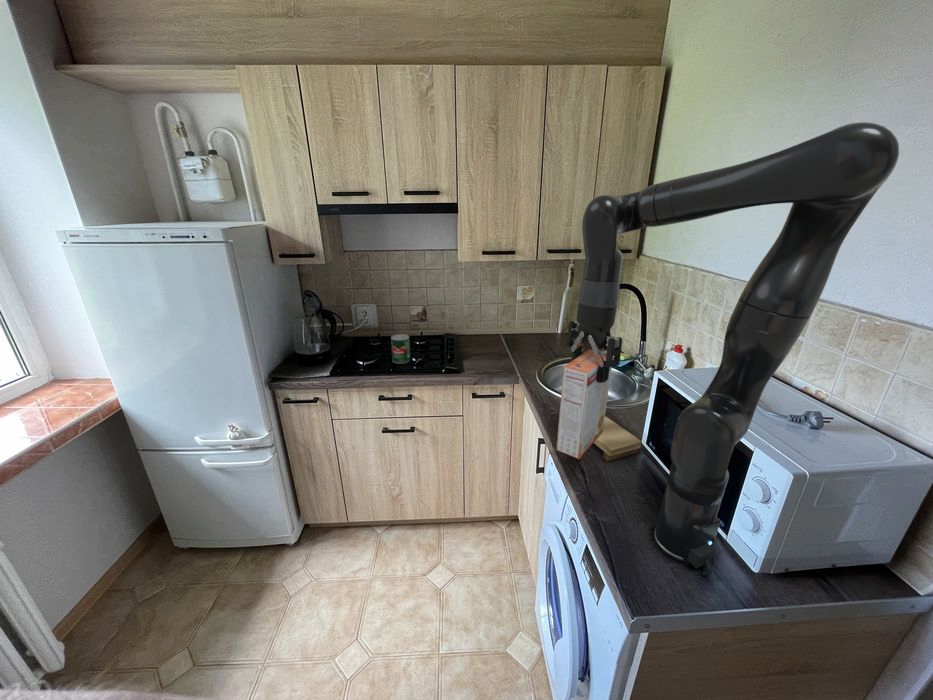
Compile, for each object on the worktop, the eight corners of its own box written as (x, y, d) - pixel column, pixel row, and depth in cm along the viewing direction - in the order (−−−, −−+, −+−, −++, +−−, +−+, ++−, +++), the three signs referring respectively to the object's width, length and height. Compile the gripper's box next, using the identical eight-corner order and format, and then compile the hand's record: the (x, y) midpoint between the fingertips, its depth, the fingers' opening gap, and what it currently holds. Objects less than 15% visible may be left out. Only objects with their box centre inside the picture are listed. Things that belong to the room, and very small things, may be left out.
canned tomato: (393, 364, 165) (392, 340, 161) (391, 358, 172) (389, 334, 168) (411, 362, 167) (410, 338, 163) (408, 356, 174) (407, 333, 170)
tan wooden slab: (639, 453, 107) (642, 441, 106) (609, 462, 103) (611, 450, 102) (598, 423, 122) (600, 412, 121) (570, 430, 118) (571, 419, 117)
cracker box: (579, 424, 96) (590, 347, 89) (603, 433, 92) (616, 353, 85) (553, 450, 86) (562, 364, 78) (578, 461, 82) (590, 372, 75)
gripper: (561, 295, 82) (554, 364, 88) (608, 311, 70) (596, 391, 76) (589, 292, 85) (581, 360, 91) (639, 307, 73) (625, 384, 78)
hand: (588, 374), depth 83 cm, fingers closed on cracker box, 8 cm apart
